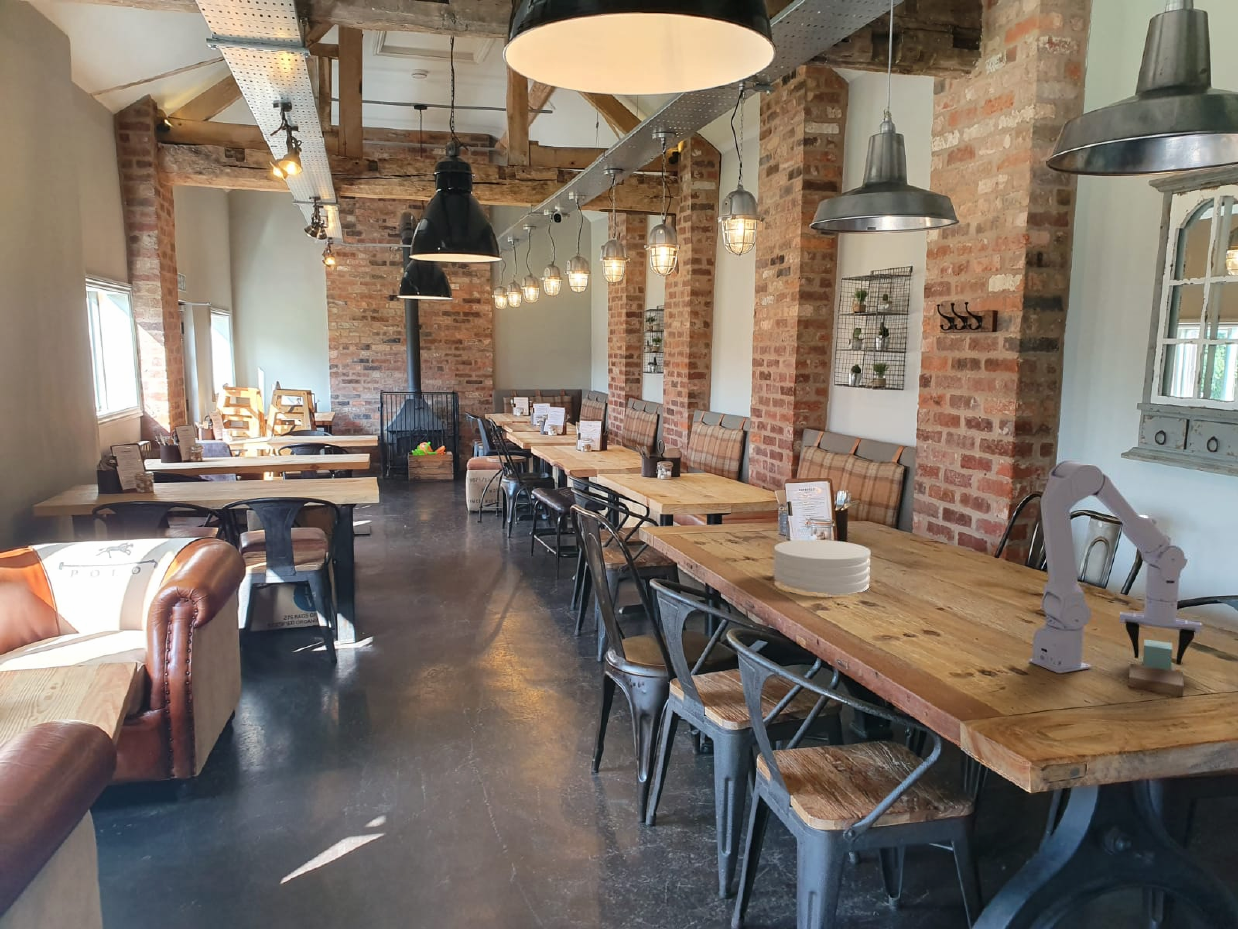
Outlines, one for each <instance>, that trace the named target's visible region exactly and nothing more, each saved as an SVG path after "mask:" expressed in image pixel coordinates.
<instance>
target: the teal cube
mask: <svg viewBox="0 0 1238 929" xmlns="http://www.w3.org/2000/svg"><path fill="white" fill-rule="evenodd" d="M1142 658H1143V659H1142V666H1148V667H1154V668H1160V669H1166V670H1172V661H1173V643H1172V642H1165V641H1160V640H1159V641H1158V640H1153V639H1145V638H1144V641H1143V657H1142Z"/></svg>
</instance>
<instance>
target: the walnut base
mask: <svg viewBox="0 0 1238 929" xmlns="http://www.w3.org/2000/svg"><path fill="white" fill-rule="evenodd" d="M1183 674H1184V673H1183V671H1178V670H1172V669H1171V670H1166V669H1160V668H1154V667H1148V666H1143V665H1142V664H1141V665H1140V664H1133V663H1130V664H1129V675H1128V687H1129V686H1130V688H1134V689H1135V688H1136V689H1140V688H1141V689H1142V690H1146V691H1147V690H1148V691H1153V692H1158V691H1160V692H1159V693H1164V694H1168V695H1169V694H1171V695H1175V696H1176V695H1177V696H1181V695H1182V697H1184V688H1185V687H1184V686H1185V685H1184V675H1183Z"/></svg>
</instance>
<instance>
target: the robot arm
mask: <svg viewBox="0 0 1238 929" xmlns="http://www.w3.org/2000/svg"><path fill="white" fill-rule="evenodd" d="M1089 496H1092V497H1095V498H1097V499H1098V500H1099V501H1100V502H1101V504H1103V506H1105V507H1106V508H1107V509H1108V511H1110V512H1111V513H1112V514H1113V515H1114V516H1115V517H1116V518H1117V520H1119V521H1120V522H1121V523H1122V526H1121V532H1122V534H1124V536H1125V537H1126V538H1127V539H1128V540H1129V542H1131V543H1132V545H1133V546H1134V547H1135V548H1136V549H1137V550H1138V551H1139V552H1140V556H1141V560H1142V561H1143V562H1145V563H1146V564H1147V566H1146V581H1145V596H1144V597H1145V598H1144V610H1143V611H1144V612H1143V613H1136V612H1135V613H1134V612H1121V611H1120V612H1119V624H1125V629H1126V632H1127V634H1128V637H1129V638H1130V641H1131V645H1132V648H1133V652H1134V653H1133V654H1134V658H1135V659H1139V654H1140V653H1139V652H1140V647H1139V646H1140V645H1139V638H1140V625H1141V626H1147V627H1152V628H1153V627H1155V628H1161V629H1162V628H1163V629H1168V630H1169V629H1170V630H1177V631H1178V632H1179V633H1178V647H1177V651H1176V652H1177V653H1176V660H1175V662H1176V665H1178V666H1179V665H1180V666H1181V664H1182V660H1183V657H1184V654H1185V652H1186V650H1187V649H1188V647H1189V645H1190V644H1191V643H1192V642H1193V640H1194V638H1195V634H1198V635H1199V634H1200V635H1201V634H1202V627H1203V625H1202V622H1198V621H1193V620H1187V619H1183V618H1177V612H1178V609H1177V608H1178V599H1179V582H1180V578H1181V572H1182V570H1184V568H1186V566H1187V563H1188V558H1186V556H1185V553H1184V551H1183V550H1182V548H1181V547H1179V546H1176V545H1173V544H1172V542H1171V540H1172V539H1171V537H1170V536H1169V535H1167V534H1164V533H1163V532H1162V530H1160V529H1159V527H1158V526H1157V525H1156V524H1157V523H1158V522H1157V520H1155V518H1153V517H1150V516H1147V515H1145V514H1138V513H1137V512H1136V511H1135V510H1134V508H1133V507H1132V506H1131V505H1130V503H1129V502H1128V501H1127V500H1126V499H1125V497H1124V496H1123V495H1122V494H1121V492H1120V491H1119V490H1118V489H1117V487H1116V486H1115V485H1114V484H1113V482H1112V480H1111V479H1110V477H1108V476H1107V475H1106V474H1104V473H1103V472H1102V470H1101V468H1099V467H1098V466H1096V465H1094V464H1088V463H1087V464H1085V463H1081V462H1076V461H1074V460H1069V459H1068V460H1062V461H1061V462H1059V463H1058V464H1056V465H1055V466H1054V467H1053V468H1052V469H1051V470H1050V471H1049V472H1048V481H1047V483H1046V486H1045V488H1044V490H1043V492H1042V495H1041V497H1040V502H1039V503H1040V511H1041V520H1042V522H1041V523H1042V530H1043V540H1044V548H1045V557H1046V566H1047V576H1048V581H1047V582H1046V583H1045V584H1044V585H1043V595H1042V598H1041V600H1040V601H1041V603H1040V604H1041V605H1040V606H1041V609H1042V611H1043V612H1044V614H1046V616H1045V617H1046V618H1045V623H1044V624H1043V626H1041V627H1039V628H1037V629H1036V630H1035V632H1034V633H1033V638H1032V641H1033V642H1032V657H1031V658H1030V659H1028V662H1029V663H1032V664H1034V665H1036V666H1039V667H1042V668H1044V669H1047V670H1049V671H1052V672H1055V673H1057V674H1063V673H1068V672H1069V673H1070V672H1074V671H1080V670H1085V669H1086V670H1087V669H1091V668H1092V665H1090V664H1088V663H1085V662H1083V649H1084V648H1083V644H1084V627H1085V626H1086V625H1087V624H1088V623H1089V622H1090V620H1091V615H1092V612H1091V609H1090V608H1091V607H1090V606H1089V605H1088V604H1087V602H1086V600H1085V594H1084V591H1083V590H1082V588H1081V586H1080V584H1079V582H1078V577H1077V567H1076V558H1075V548H1074V539H1073V531H1072V530H1073V529H1072V521H1071V509H1072V508H1073V507H1074V506H1076V504H1078V502H1080V501H1082V500H1084V499H1086V498H1088V497H1089Z"/></svg>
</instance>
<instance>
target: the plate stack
mask: <svg viewBox="0 0 1238 929" xmlns="http://www.w3.org/2000/svg"><path fill="white" fill-rule="evenodd" d="M773 551H774V556H773V560H774V563H773V570H774V571H773V577H774V578H773V579H776V580H777V581H778V582H780V583H781V584H783V585H786V586H788V587H791V588H793V589H799V590H803V591H806V592H817V593H825V594H826V593H827V594H828V595H840V594H852V593H857V592H863V591H865V590H867V589H868V588H869V585H870V582H871V576H870V573H871V568H870V565H871V558H870V557H871V550H870V548H868V547H865V546H864V545H861V544H857V543H852V542H848V541H847V542H846V541H840V540H839V541H838V540H831V539H830V540H828V539H798V540H796V539H795V540H790V541H789V540H787V541H783V542H780V543H777V544H775V546H774V548H773Z"/></svg>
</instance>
